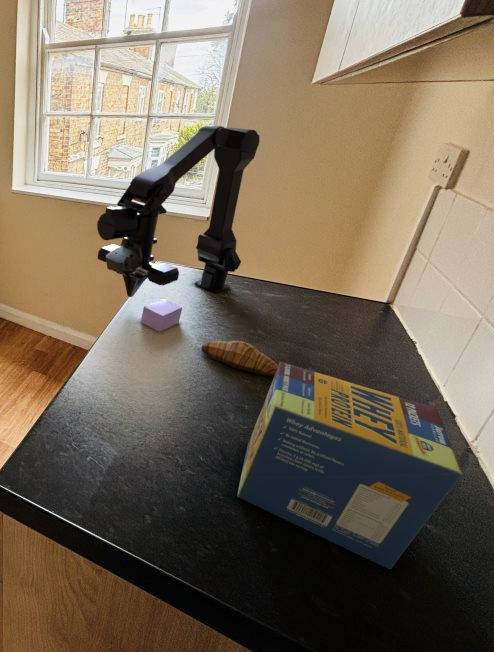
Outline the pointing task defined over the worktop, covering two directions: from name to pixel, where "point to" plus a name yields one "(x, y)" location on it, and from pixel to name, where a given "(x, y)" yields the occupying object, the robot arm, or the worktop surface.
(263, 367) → the croissant
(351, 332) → the worktop surface
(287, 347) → the worktop surface
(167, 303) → the block
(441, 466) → the protein box
